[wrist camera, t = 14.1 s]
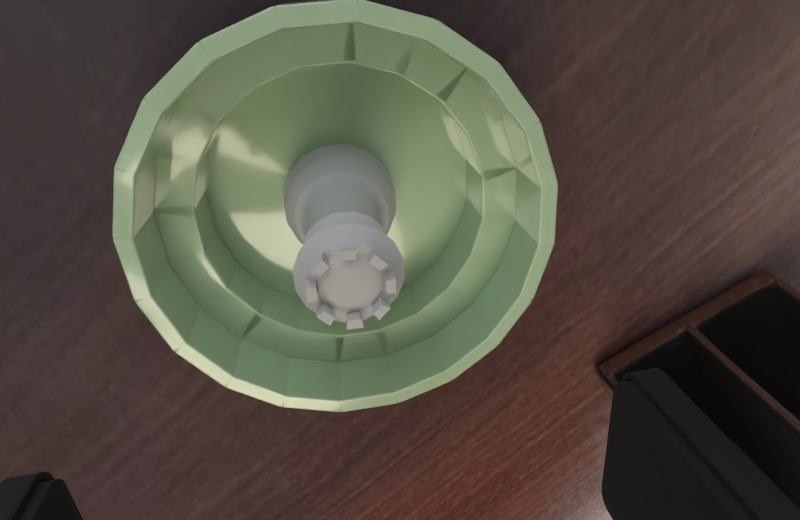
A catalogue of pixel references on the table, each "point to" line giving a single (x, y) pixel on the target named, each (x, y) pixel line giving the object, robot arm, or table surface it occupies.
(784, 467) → the letter holder
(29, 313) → the table surface
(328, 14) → the bowl
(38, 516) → the robot arm
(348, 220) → the rook chess piece
